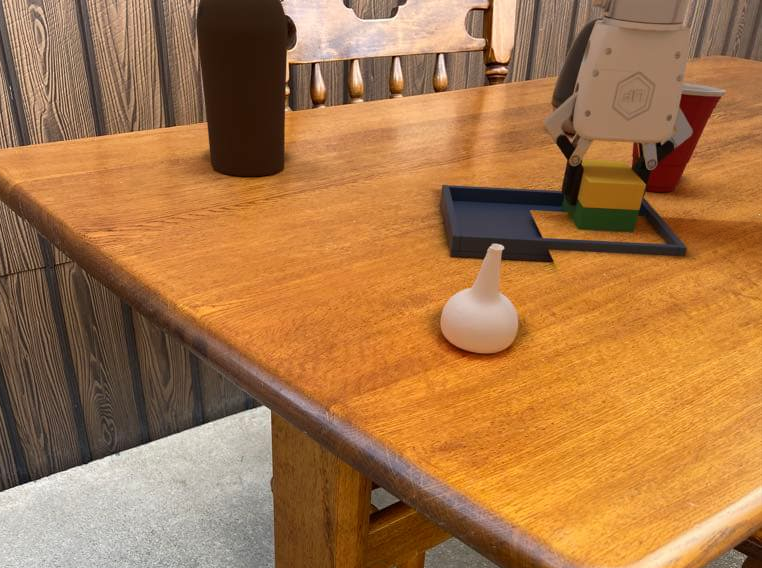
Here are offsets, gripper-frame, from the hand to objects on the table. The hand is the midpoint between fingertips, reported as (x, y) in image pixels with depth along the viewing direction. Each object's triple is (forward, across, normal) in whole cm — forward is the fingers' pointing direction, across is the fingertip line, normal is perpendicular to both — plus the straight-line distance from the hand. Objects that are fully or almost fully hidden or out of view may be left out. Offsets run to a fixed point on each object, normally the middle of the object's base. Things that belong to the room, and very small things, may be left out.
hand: (600, 201), depth 86 cm
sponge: (+2, 0, 0) cm, 2 cm away
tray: (+3, -5, -2) cm, 6 cm away
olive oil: (+3, -41, +18) cm, 45 cm away
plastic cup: (+3, +12, +19) cm, 22 cm away
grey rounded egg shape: (+3, +8, +48) cm, 48 cm away
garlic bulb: (+3, -16, -30) cm, 35 cm away
